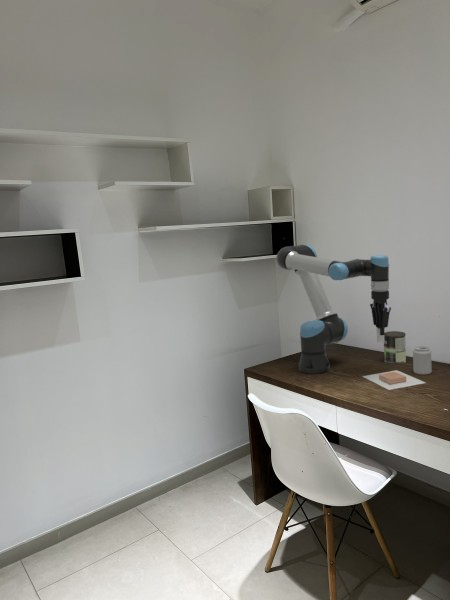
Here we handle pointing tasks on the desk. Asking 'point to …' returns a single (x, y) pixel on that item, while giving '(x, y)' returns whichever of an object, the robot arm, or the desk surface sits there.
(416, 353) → the can
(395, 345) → the coffee can
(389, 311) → the robot arm
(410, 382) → the mat
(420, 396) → the desk surface
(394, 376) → the tile
